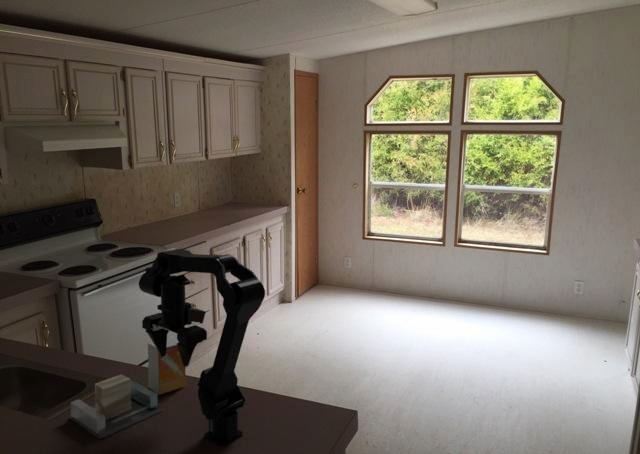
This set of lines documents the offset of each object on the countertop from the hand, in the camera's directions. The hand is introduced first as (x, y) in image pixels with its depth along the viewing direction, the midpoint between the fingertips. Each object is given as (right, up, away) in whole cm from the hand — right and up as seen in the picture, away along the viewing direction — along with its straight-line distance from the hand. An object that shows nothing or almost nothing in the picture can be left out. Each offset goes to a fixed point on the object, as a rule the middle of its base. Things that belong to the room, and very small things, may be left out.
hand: (174, 361), depth 126 cm
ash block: (-14, -12, -2) cm, 19 cm away
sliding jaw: (-10, -11, +4) cm, 15 cm away
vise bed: (-14, -13, -1) cm, 19 cm away
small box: (-6, -11, +14) cm, 19 cm away
